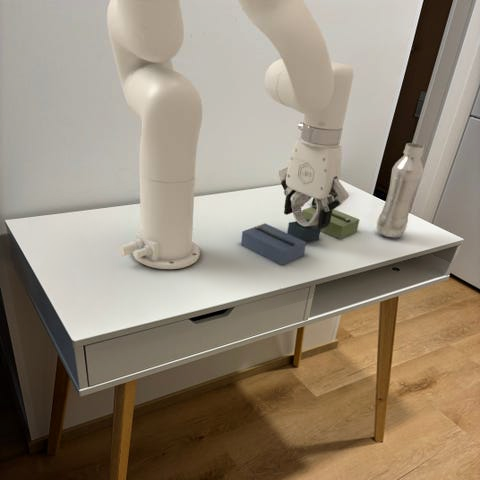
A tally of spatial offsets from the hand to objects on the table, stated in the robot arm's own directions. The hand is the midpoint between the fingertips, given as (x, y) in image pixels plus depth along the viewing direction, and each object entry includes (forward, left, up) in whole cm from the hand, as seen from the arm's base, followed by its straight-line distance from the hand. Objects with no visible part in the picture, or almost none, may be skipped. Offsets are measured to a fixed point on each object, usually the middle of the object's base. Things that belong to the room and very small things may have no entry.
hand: (305, 219), depth 103 cm
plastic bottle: (+18, -11, -4) cm, 22 cm away
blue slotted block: (-10, 0, -4) cm, 11 cm away
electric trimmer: (+24, +11, -4) cm, 27 cm away
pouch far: (+10, 0, -4) cm, 11 cm away
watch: (0, 0, -4) cm, 4 cm away
